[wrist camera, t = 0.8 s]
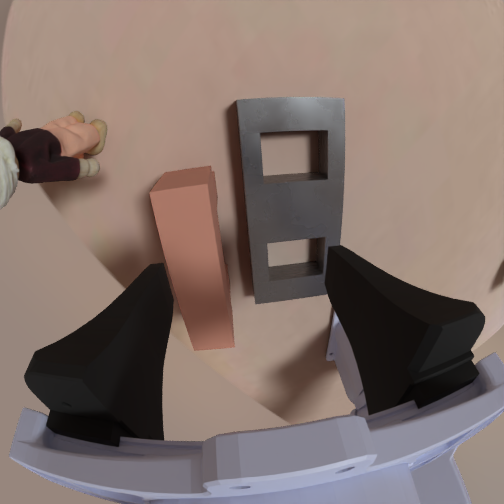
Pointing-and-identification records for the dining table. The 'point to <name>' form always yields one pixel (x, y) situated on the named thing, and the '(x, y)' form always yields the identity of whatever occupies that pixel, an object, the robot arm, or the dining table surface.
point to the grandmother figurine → (49, 152)
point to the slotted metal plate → (292, 192)
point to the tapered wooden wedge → (195, 254)
